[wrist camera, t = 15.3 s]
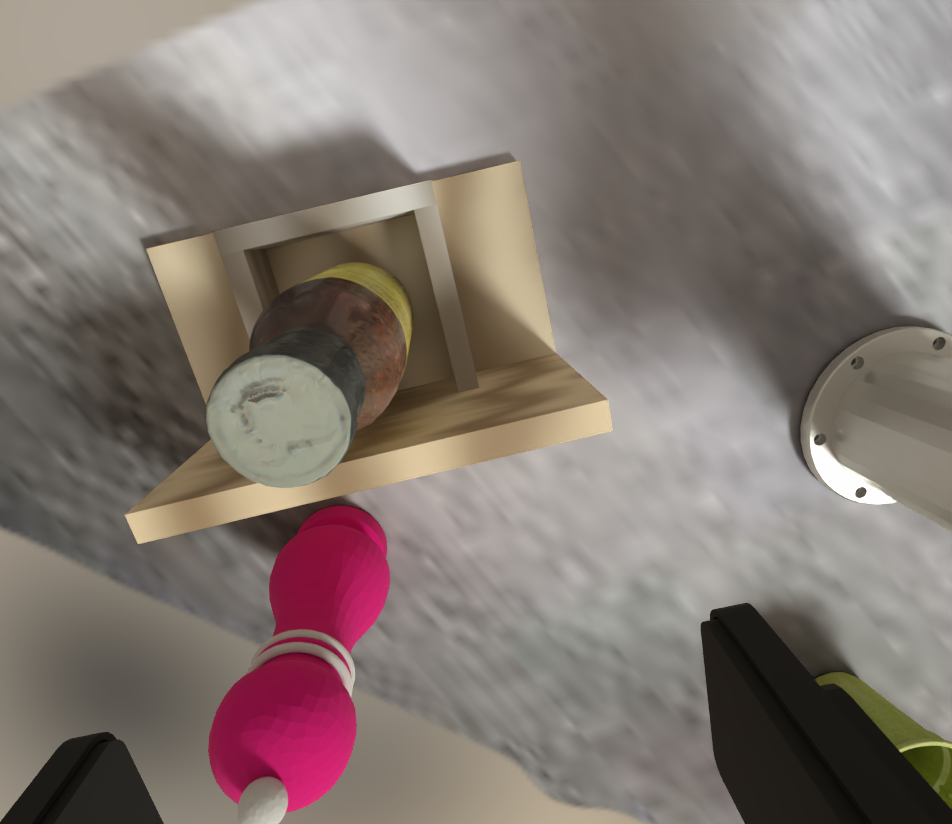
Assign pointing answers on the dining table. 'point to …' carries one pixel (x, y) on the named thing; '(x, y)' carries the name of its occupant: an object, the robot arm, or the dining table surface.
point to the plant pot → (902, 733)
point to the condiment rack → (430, 352)
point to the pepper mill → (302, 670)
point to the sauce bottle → (312, 375)
